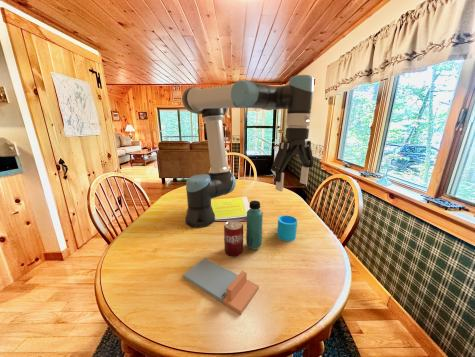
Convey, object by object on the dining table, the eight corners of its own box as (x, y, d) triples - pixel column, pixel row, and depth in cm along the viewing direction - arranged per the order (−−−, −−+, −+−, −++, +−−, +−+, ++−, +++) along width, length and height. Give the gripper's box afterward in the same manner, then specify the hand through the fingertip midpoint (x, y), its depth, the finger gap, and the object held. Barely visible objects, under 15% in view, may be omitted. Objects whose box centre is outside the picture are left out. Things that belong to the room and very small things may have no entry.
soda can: (224, 246, 79) (223, 220, 76) (242, 245, 80) (242, 219, 76) (224, 258, 72) (224, 230, 69) (244, 257, 73) (244, 229, 69)
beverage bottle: (263, 244, 81) (265, 199, 75) (259, 254, 75) (261, 206, 69) (248, 241, 83) (249, 197, 77) (243, 250, 77) (244, 204, 71)
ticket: (183, 277, 63) (183, 274, 63) (204, 260, 71) (204, 257, 71) (221, 302, 54) (221, 298, 54) (241, 279, 62) (241, 275, 62)
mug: (297, 241, 82) (299, 224, 80) (278, 241, 83) (279, 224, 80) (291, 226, 94) (292, 211, 92) (274, 226, 94) (275, 211, 92)
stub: (223, 303, 54) (222, 289, 53) (242, 280, 62) (242, 267, 61) (240, 314, 51) (240, 300, 50) (258, 288, 59) (259, 276, 58)
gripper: (280, 128, 55) (275, 197, 61) (328, 127, 69) (320, 183, 75) (262, 127, 61) (259, 190, 67) (310, 126, 75) (304, 178, 81)
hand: (291, 186), depth 71 cm, fingers open, 13 cm apart
